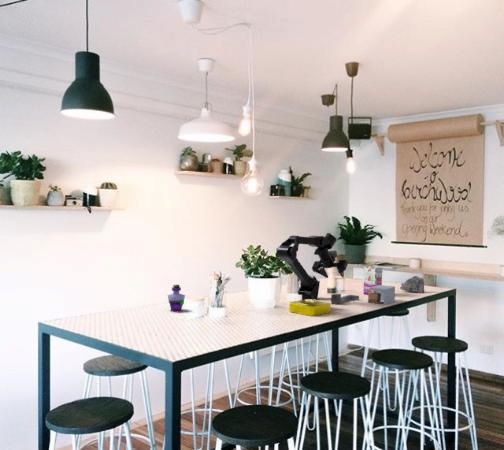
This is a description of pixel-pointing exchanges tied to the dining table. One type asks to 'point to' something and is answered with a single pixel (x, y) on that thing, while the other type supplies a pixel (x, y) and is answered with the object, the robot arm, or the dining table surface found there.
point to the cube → (374, 298)
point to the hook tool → (342, 298)
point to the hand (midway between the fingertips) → (335, 277)
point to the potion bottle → (176, 299)
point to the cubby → (385, 293)
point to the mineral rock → (413, 285)
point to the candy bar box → (372, 278)
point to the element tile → (309, 307)
